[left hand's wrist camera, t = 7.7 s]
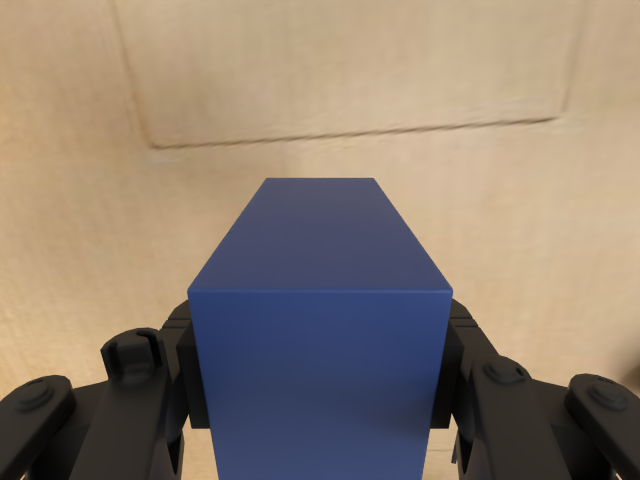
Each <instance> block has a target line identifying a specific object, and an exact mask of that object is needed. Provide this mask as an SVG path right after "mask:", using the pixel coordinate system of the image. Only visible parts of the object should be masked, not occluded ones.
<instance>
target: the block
mask: <svg viewBox="0 0 640 480" xmlns="http://www.w3.org/2000/svg"><path fill="white" fill-rule="evenodd" d="M187 293H188V299H189V305H190V311H191V317H192V323H193V329H194V335H195V341H196V347H197V353H198V359H199V365H200V371H201V377H202V383H203V389H204V394H205V400H206V406H207V412H208V418H209V424H210V430H211V436H212V442H213V448H214V454H215V460H216V466H217V472H218V478H219V480H421V479H422V474H423V468H424V462H425V456H426V450H427V444H428V438H429V432H430V426H431V420H432V414H433V408H434V402H435V396H436V391H437V385H438V379H439V373H440V367H441V361H442V355H443V349H444V343H445V337H446V331H447V325H448V319H449V313H450V307H451V302H452V296H453V289H452V287H451V286H450V285H449V283H448V282H447V280H446V279H445V278H444V276H443V275H442V273H441V272H440V271H439V269H438V268H437V266H436V265H435V264H434V262H433V261H432V259H431V258H430V257H429V255H428V254H427V252H426V251H425V250H424V248H423V247H422V245H421V244H420V242H419V241H418V240H417V238H416V237H415V235H414V234H413V233H412V231H411V230H410V228H409V227H408V226H407V224H406V223H405V221H404V220H403V219H402V217H401V216H400V214H399V213H398V212H397V210H396V209H395V207H394V206H393V205H392V203H391V202H390V200H389V199H388V198H387V196H386V195H385V193H384V192H383V191H382V189H381V188H380V186H379V185H378V184H377V182H376V181H375V179H374V178H266V180H265V181H264V182H263V184H262V185H261V187H260V188H259V189H258V191H257V192H256V194H255V195H254V196H253V198H252V199H251V201H250V202H249V203H248V205H247V206H246V208H245V209H244V211H243V212H242V213H241V215H240V216H239V218H238V219H237V220H236V222H235V223H234V225H233V226H232V227H231V229H230V230H229V232H228V233H227V234H226V236H225V237H224V239H223V240H222V241H221V243H220V244H219V246H218V247H217V249H216V250H215V251H214V253H213V254H212V256H211V257H210V258H209V260H208V261H207V263H206V264H205V265H204V267H203V268H202V270H201V271H200V272H199V274H198V275H197V277H196V278H195V279H194V281H193V282H192V284H191V285H190V287H189V288H188V290H187Z"/></svg>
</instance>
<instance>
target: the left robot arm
mask: <svg viewBox="0 0 640 480" xmlns="http://www.w3.org/2000/svg"><path fill="white" fill-rule="evenodd" d="M100 351H101V355H102V358H103V361H104V365H105V368H106V371H107V375H108V380H107V381H104V382H100V383H96V384H92V385H87V386H83V387H79V388H74V389H73V388H72V385H71V382H70V380H69V379H67V378H66V377H65V376H60V375H51V376H44V377H41V378H38V379H35V380H32V381H29V382H27V383H25V384H24V385H22V386H20V387H18V388H16V389H15V390H13V391H12V392H11V393H10V394H8V395H7V396H6V397H5V398H3V399H2V400H1V401H0V480H20V479H21V478H22V476H23V475H25V477H24V478H23V480H181V474H182V463H183V453H184V436H183V431H182V429H183V426H184V424H185V421H186V419H187V417H188V414H189V418H190V423H191V428H192V429H210V424H209V418H208V412H207V406H206V400H205V394H204V389H203V383H202V377H201V371H200V365H199V359H198V353H197V347H196V341H195V335H194V329H193V323H192V317H191V311H190V305H189V300H186V301H185V302H183V303H182V304H180V305H179V306H178V307H176V308H175V309H174V310H173V312H172V313H171V315H170V316H169V318H168V320H166V322H165V323H164V325H163V326H162V329H160V330H159V331H158V330H157V329H152V328H136V329H132V330H128V331H125V332H123V333H121V334H119V335H116V336H114V337H113V338H112V339H110V340H109V341H107V342H106V343H105V344H104V346H103V347H102V348H101V350H100ZM451 414H453V417H454V419H455V422H456V424H457V426H458V431H457V436H456V440H455V445H454V450H453V455H452V461H451V463H454V464H456V461H457V462H458V473H459V480H619V479H618V477H617V476H616V474H617V473H618V475H619V476H620V477H621V479H622V480H640V399H639V398H638V397H637V396H636V395H634V394H633V393H632V392H631V391H629V390H628V389H627V388H626V387H624V386H622V385H620V384H618V383H616V382H614V381H612V380H610V379H607V378H604V377H601V376H598V375H592V374H578V375H575V376H574V377H573V378H572V379H571V380H570V383H569V386H568V387H563V386H559V385H555V384H550V383H546V382H541V381H538V380H535V379H532V378H531V376H530V375H529V373H528V372H527V370H526V369H525V368H523V367H522V366H521V365H520V364H518V363H517V362H515V361H513V360H511V359H509V358H507V357H504V356H500V355H499V354H498V352H497V351H496V350H495V348H494V347H493V345H492V344H491V343H490V341H489V340H488V338H487V337H486V335H485V334H484V333H483V331H482V330H481V328H480V327H478V324H477V323H476V321H475V320H474V319H473V318H472V316H471V314H470V313H469V312H468V310H467V309H466V307H464V306H463V305H462V304H460V303H459V302H457V301H456V300H454V299H452V302H451V307H450V313H449V319H448V325H447V331H446V337H445V343H444V349H443V355H442V361H441V367H440V373H439V379H438V385H437V391H436V396H435V402H434V408H433V414H432V420H431V426H430V429H449V424H450V419H451Z"/></svg>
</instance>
